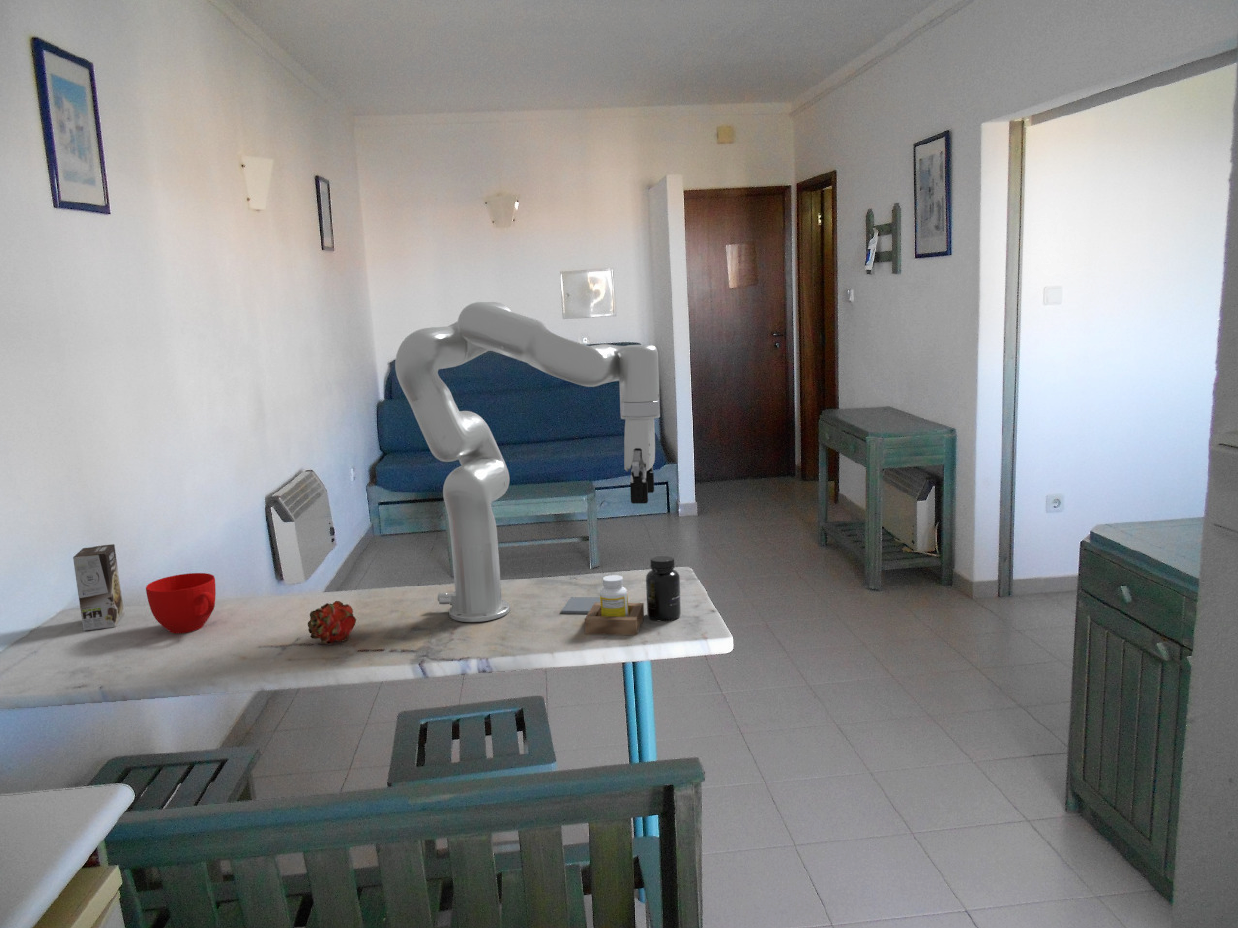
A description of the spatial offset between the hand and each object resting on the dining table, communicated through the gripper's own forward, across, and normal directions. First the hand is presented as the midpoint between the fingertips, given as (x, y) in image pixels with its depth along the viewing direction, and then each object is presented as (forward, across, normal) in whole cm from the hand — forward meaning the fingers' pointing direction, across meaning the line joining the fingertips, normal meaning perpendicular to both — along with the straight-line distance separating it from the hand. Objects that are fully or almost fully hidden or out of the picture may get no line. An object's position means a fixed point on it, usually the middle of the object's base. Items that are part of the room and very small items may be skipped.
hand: (642, 497), depth 177 cm
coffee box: (+26, +4, -117) cm, 120 cm away
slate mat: (+25, -9, -14) cm, 30 cm away
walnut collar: (+25, +2, -6) cm, 26 cm away
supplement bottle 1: (+26, +2, -6) cm, 26 cm away
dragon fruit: (+26, +12, -60) cm, 67 cm away
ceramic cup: (+26, +8, -94) cm, 98 cm away
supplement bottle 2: (+25, -4, +3) cm, 26 cm away
